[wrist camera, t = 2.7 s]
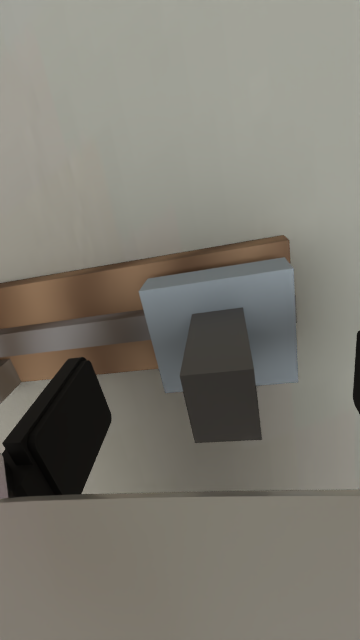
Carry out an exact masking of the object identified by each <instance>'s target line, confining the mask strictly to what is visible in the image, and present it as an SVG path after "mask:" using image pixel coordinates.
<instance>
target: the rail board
mask: <svg viewBox="0 0 360 640" xmlns="http://www.w3.org/2000/svg"><path fill="white" fill-rule="evenodd" d="M283 257H285V258H286V260H287V261H288V262H289V263H290V247H289V240H288V239H287V238H286V237H285V236H284V235H282V236H276V237H270V238H264V239H258V240H252V241H246V242H241V243H235V244H229V245H223V246H217V247H211V248H205V249H199V250H194V251H188V252H182V253H176V254H170V255H164V256H158V257H152V258H146V259H141V260H135V261H129V262H123V263H117V264H111V265H105V266H99V267H94V268H88V269H82V270H76V271H70V272H64V273H58V274H52V275H46V276H41V277H35V278H29V279H23V280H17V281H11V282H5V283H0V404H1V403H2V402H3V400H4V399H5V398H6V397H7V396H8V395H9V394H10V393H11V392H12V391H13V390H14V389H15V388H16V387H17V386H18V385H19V384H20V383H21V382H26V381H36V380H46V379H53V377H54V376H55V375H56V374H57V372H58V371H59V370H60V368H61V367H62V366H63V365H64V363H65V362H66V361H67V360H68V359H70V358H79V357H84V358H86V360H89V361H90V362H91V364H92V366H93V369H94V371H95V374H96V375H97V374H108V373H118V372H128V371H138V370H148V369H159V367H158V364H157V360H156V356H155V352H154V348H153V344H152V341H151V337H150V333H149V329H148V325H147V322H146V318H145V314H144V310H143V306H142V303H141V299H140V295H139V290H140V289H141V287H142V286H143V284H144V283H145V282H146V280H147V279H149V278H155V277H161V276H168V275H174V274H181V273H187V272H193V271H200V270H206V269H212V268H219V267H225V266H232V265H238V264H244V263H251V262H257V261H263V260H270V259H276V258H283ZM295 315H296V295H295ZM296 323H297V320H296Z"/></svg>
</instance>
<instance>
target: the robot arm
mask: <svg viewBox="0 0 360 640" xmlns="http://www.w3.org/2000/svg"><path fill="white" fill-rule="evenodd" d="M353 400H354V404H355V406H356V408H357V410H358V412H359V414H360V331H358V333H357V342H356V357H355V373H354V388H353ZM110 423H111V412H110V410H109V407H108V405H107V402H106V399H105V397H104V394H103V392H102V389H101V387H100V384H99V381H98V379H97V376H96V374H95V371H94V369H93V366H92V364H91V362H90V361H89V360H86V358H84V357H79V358H70V359H68V360H67V361H66V362H65V363H64V365H63V366H62V367H61V368H60V370H59V371H58V372H57V374H56V375H55V376H54V377H53V379H52V380H51V381H50V383H49V384H48V385H47V386H46V388H45V389H44V390H43V392H42V393H41V394H40V395H39V397H38V398H37V399H36V401H35V402H34V403H33V404H32V406H31V407H30V408H29V410H28V411H27V412H26V413H25V415H24V416H23V417H22V419H21V420H20V421H19V422H18V424H17V425H16V426H15V428H14V429H13V430H12V431H11V433H10V434H9V435H8V437H7V438H6V439H5V440H4V442H3V443H2V444H3V445H4V447H5V451H4V452H3V453H2V454H1V453H0V640H360V489H346V490H271V491H211V492H160V493H117V494H81V493H82V491H83V488H84V486H85V484H86V481H87V479H88V476H89V474H90V472H91V469H92V467H93V464H94V462H95V460H96V457H97V455H98V452H99V450H100V448H101V445H102V443H103V440H104V438H105V436H106V433H107V431H108V428H109V426H110Z"/></svg>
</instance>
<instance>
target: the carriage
mask: <svg viewBox="0 0 360 640" xmlns="http://www.w3.org/2000/svg"><path fill="white" fill-rule="evenodd" d="M139 295H140V299H141V303H142V306H143V310H144V314H145V318H146V322H147V325H148V329H149V333H150V337H151V341H152V344H153V348H154V352H155V356H156V360H157V364H158V367H159V371H160V375H161V379H162V383H163V386H164V390H165V393H173V392H183V393H184V397H185V402H186V406H187V410H188V415H189V419H190V423H191V428H192V432H193V436H194V440H195V443H203V442H224V441H244V440H262V436H261V427H260V418H259V409H258V400H257V391H256V386H259V385H271V384H283V383H296V382H298V363H297V339H296V315H295V291H294V268H293V267H292V266H291V265H290V263H289V262H288V261H287V260H286V258H285V257H283V258H276V259H270V260H263V261H257V262H251V263H244V264H238V265H232V266H225V267H219V268H212V269H206V270H200V271H193V272H187V273H181V274H174V275H168V276H161V277H155V278H149V279H147V280H146V282H145V283H144V284H143V286H142V287H141V289H140V290H139Z"/></svg>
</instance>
